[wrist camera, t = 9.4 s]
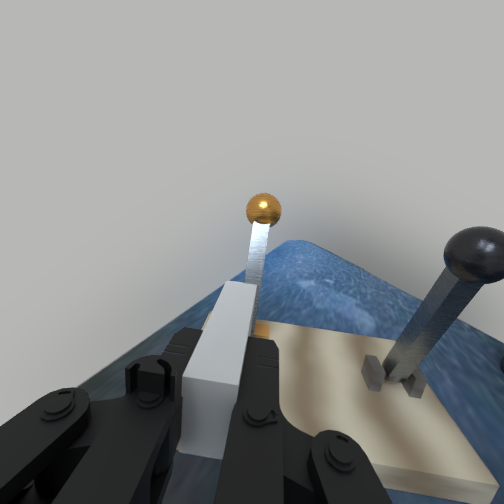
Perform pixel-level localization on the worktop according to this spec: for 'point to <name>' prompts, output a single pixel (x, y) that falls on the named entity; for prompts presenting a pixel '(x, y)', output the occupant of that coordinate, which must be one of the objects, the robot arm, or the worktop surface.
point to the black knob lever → (448, 296)
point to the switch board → (375, 411)
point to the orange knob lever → (259, 240)
